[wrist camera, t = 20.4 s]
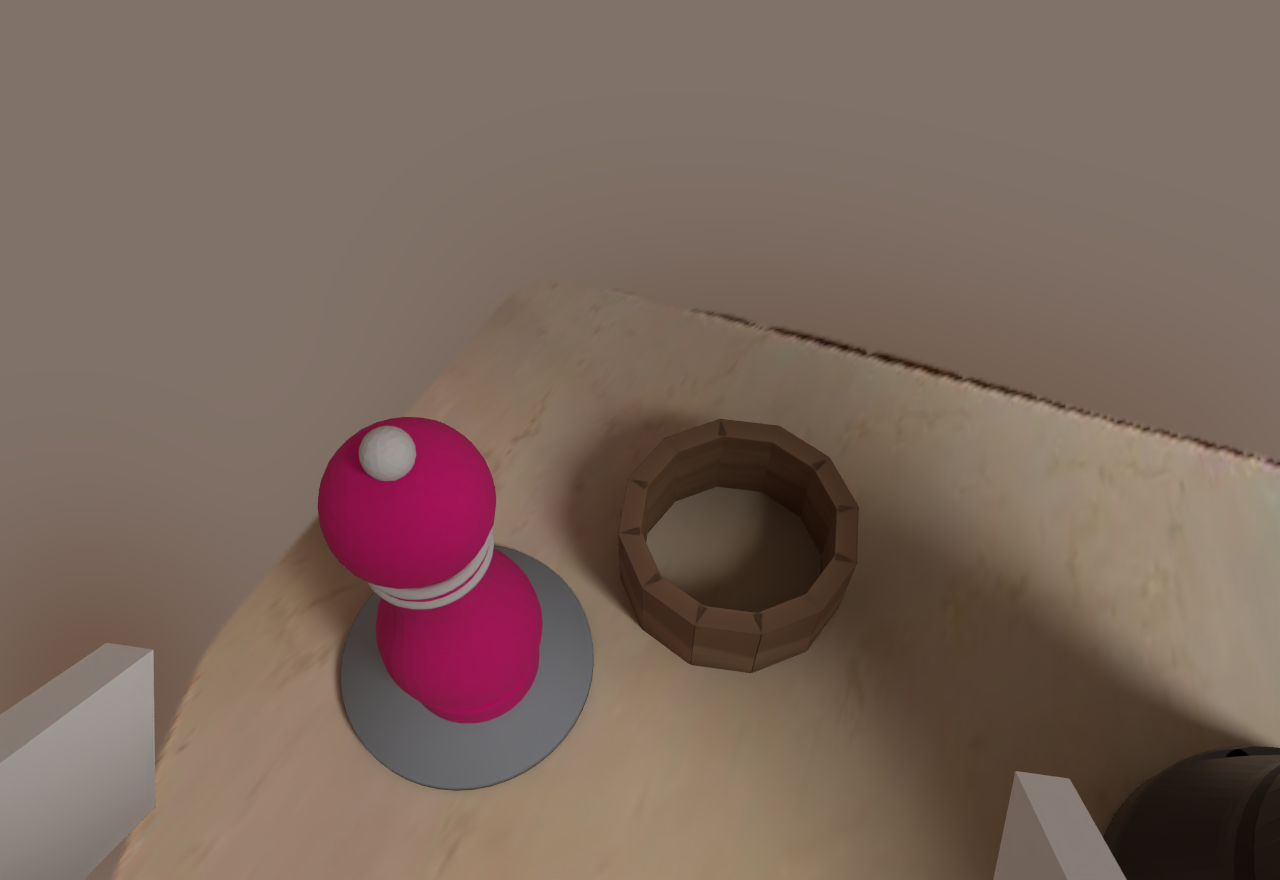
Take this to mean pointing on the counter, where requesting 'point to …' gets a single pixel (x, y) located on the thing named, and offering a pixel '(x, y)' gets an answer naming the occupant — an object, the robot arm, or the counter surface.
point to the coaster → (473, 749)
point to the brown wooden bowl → (747, 464)
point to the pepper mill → (433, 566)
